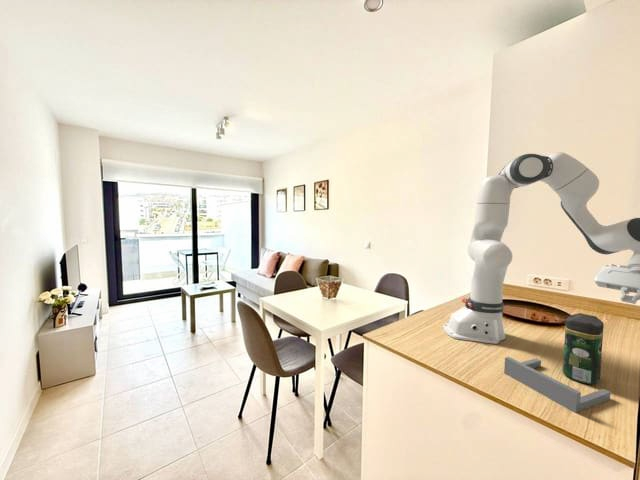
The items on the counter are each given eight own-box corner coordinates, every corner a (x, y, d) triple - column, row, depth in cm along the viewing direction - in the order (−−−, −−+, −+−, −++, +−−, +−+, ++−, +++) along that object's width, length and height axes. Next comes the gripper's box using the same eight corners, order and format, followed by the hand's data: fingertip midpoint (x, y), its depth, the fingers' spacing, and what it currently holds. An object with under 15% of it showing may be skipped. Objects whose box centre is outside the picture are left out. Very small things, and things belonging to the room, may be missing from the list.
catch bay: (535, 364, 87) (536, 349, 87) (610, 399, 70) (611, 381, 70) (504, 373, 83) (504, 357, 82) (575, 412, 66) (577, 393, 65)
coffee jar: (567, 365, 87) (570, 309, 85) (602, 376, 80) (607, 316, 79) (558, 376, 81) (562, 316, 79) (595, 389, 75) (600, 324, 73)
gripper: (601, 258, 97) (582, 287, 95) (694, 267, 78) (673, 305, 75) (608, 269, 99) (590, 298, 96) (700, 281, 80) (680, 318, 77)
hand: (627, 301), depth 86 cm, fingers closed
